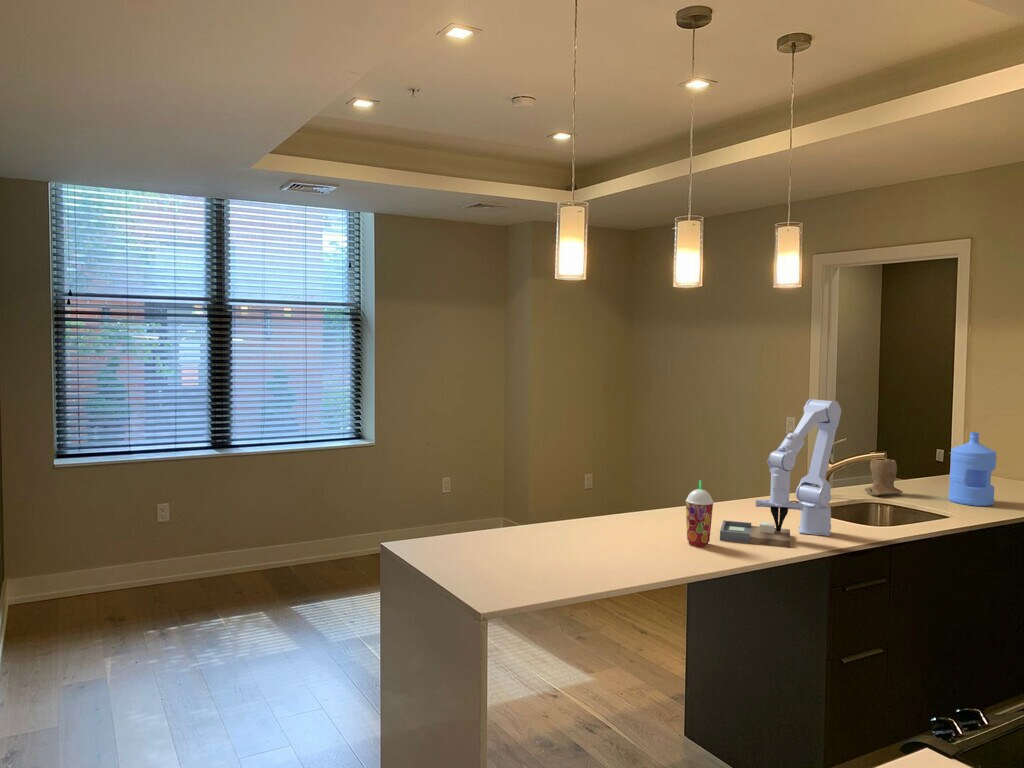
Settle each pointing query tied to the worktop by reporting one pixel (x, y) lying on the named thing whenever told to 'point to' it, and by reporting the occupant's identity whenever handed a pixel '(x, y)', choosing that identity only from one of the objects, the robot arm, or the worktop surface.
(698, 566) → the worktop surface
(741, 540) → the slate tray
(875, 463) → the stone cup
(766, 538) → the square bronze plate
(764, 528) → the cream tile
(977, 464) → the water jug
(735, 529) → the sage tile
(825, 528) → the robot arm
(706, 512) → the smoothie
